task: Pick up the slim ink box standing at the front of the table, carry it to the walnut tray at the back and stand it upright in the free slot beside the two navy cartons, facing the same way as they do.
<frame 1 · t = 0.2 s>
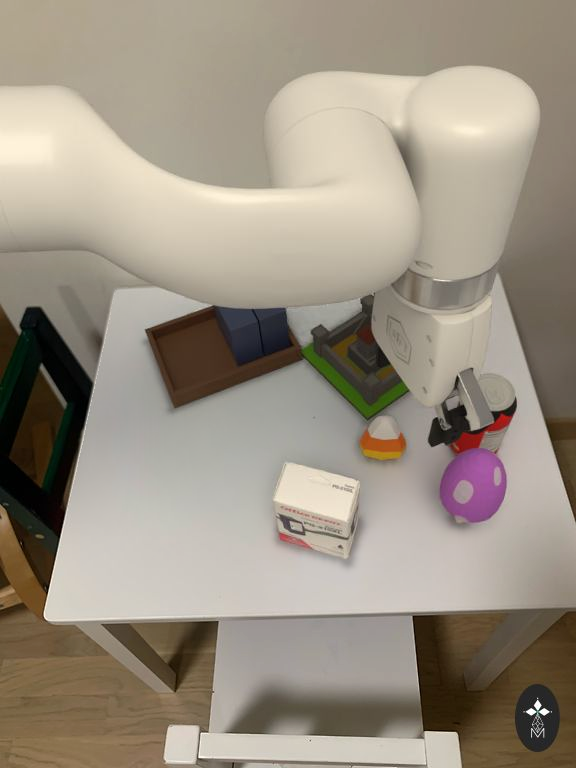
hand: (416, 398, 55), 22 cm above the table, tool pointing down, fingers open, 9 cm apart
tray: (224, 350, 89), on the table
beverage can: (472, 444, 77), on the table
candy corn: (381, 451, 77), on the table
ink box: (318, 532, 71), on the table
toy: (459, 519, 71), on the table
castle model: (372, 359, 86), on the table
matching cartons: (223, 346, 88), resting on tray
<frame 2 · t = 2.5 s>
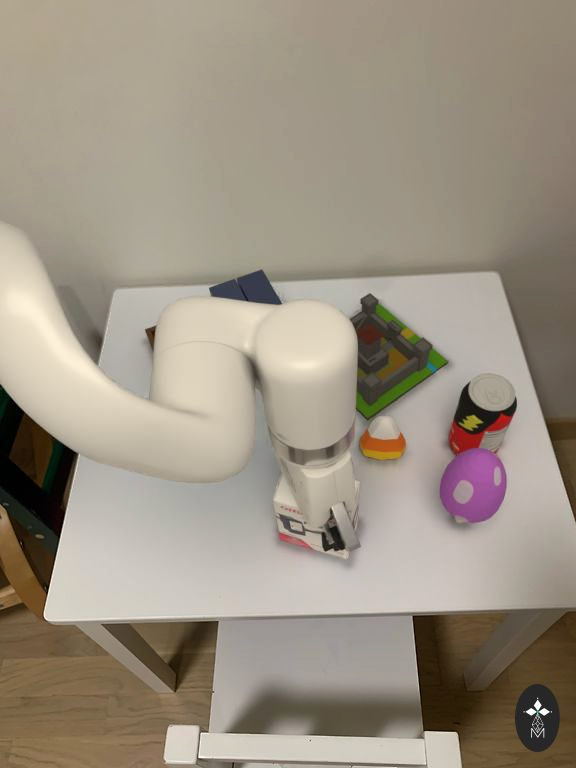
hand: (317, 504, 65), 8 cm above the table, tool pointing down, fingers closed on ink box, 9 cm apart
ink box: (318, 532, 71), on the table, touching gripper
everything else where it was.
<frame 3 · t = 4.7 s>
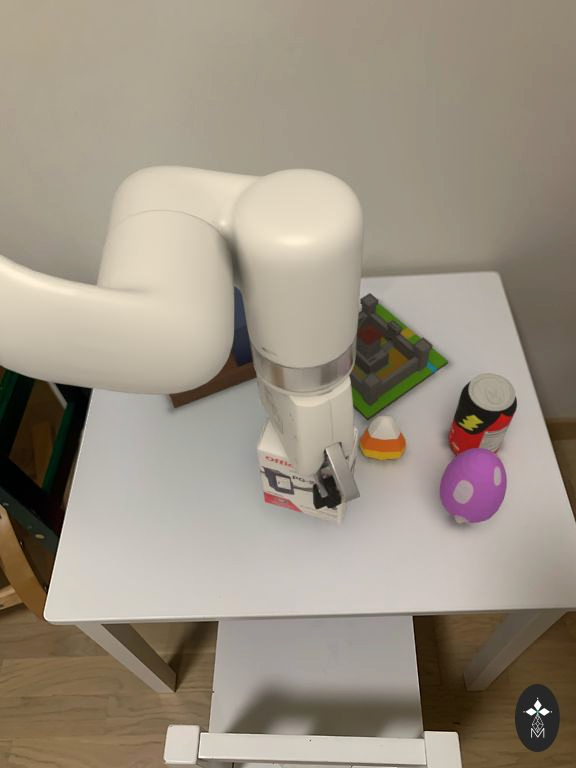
hand: (308, 457, 56), 19 cm above the table, tool pointing down, fingers closed on ink box, 9 cm apart
ink box: (309, 494, 63), point 11 cm above the table, touching gripper
everything else where it was.
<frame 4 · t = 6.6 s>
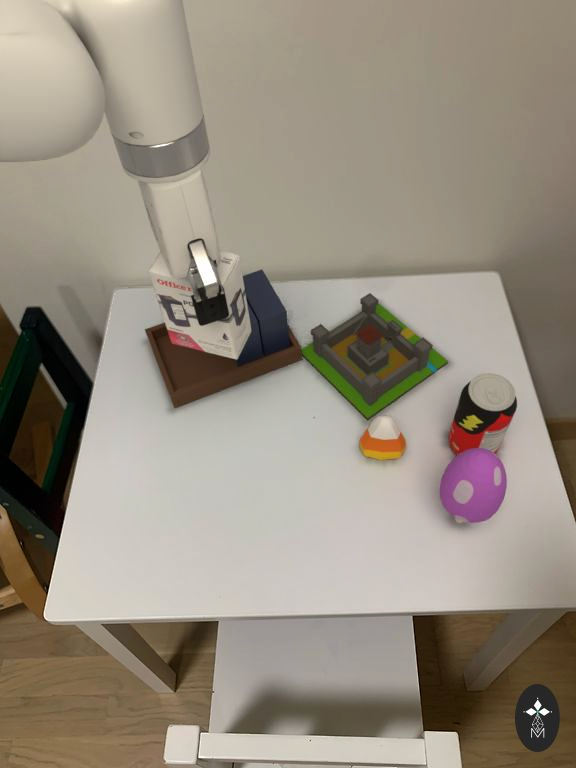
hand: (200, 288, 63), 24 cm above the table, tool pointing down, fingers closed on ink box, 9 cm apart
ink box: (211, 338, 69), point 16 cm above the table, touching gripper
everything else where it was.
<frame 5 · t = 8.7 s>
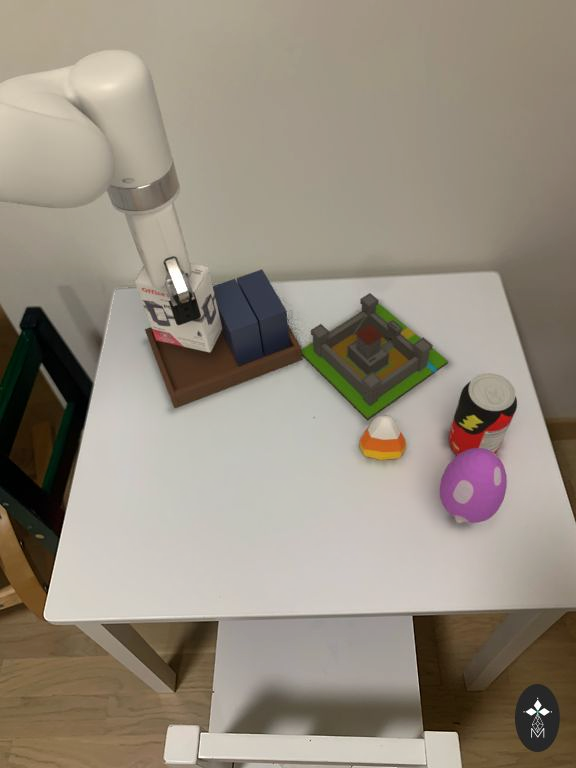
hand: (177, 294, 77), 14 cm above the table, tool pointing down, fingers closed on ink box, 9 cm apart
ink box: (189, 335, 83), point 6 cm above the table, touching gripper
everything else where it was.
when the fingers open (9 cm above the table, at t = 10.8 s): ink box stays where it is, resting on tray.
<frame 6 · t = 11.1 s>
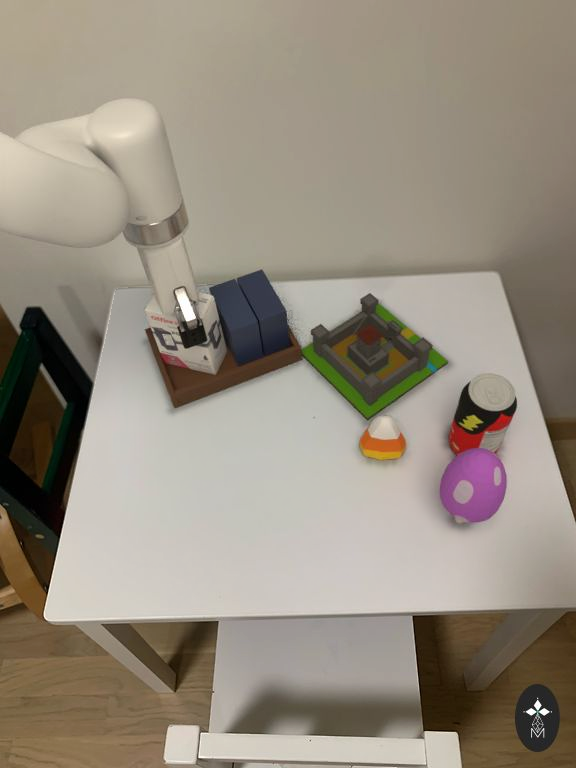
hand: (184, 318, 80), 9 cm above the table, tool pointing down, fingers open, 9 cm apart
ink box: (196, 358, 87), point 1 cm above the table, touching tray
everything else where it was.
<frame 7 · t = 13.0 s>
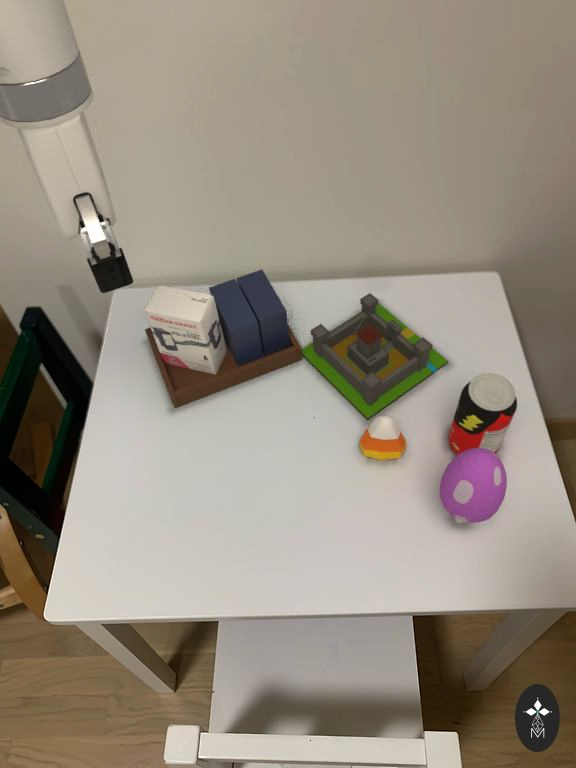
hand: (105, 255, 59), 29 cm above the table, tool pointing down, fingers open, 9 cm apart
nothing on the table moved.
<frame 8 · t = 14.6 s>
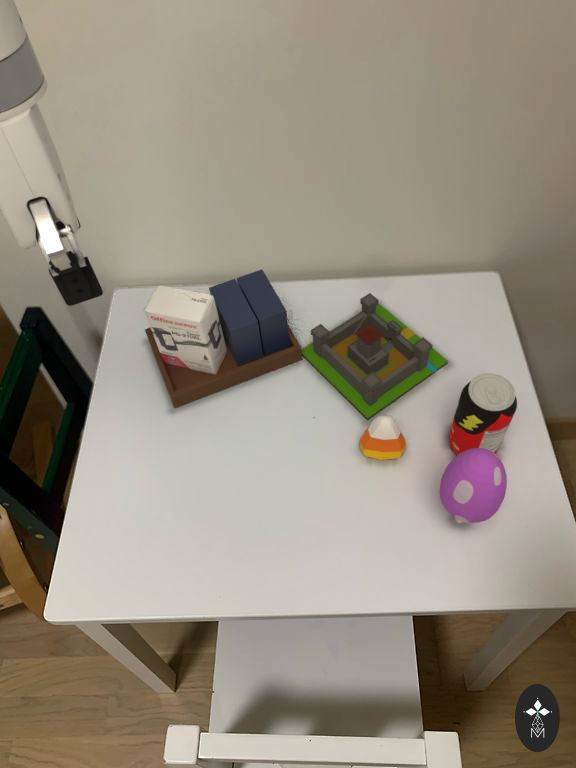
hand: (74, 263, 54), 32 cm above the table, tool pointing down, fingers open, 9 cm apart
nothing on the table moved.
at the end: ink box 0.0 cm from the target spot in the tray, point 0.6 cm above the tray's base; ink box tilted 0° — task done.
